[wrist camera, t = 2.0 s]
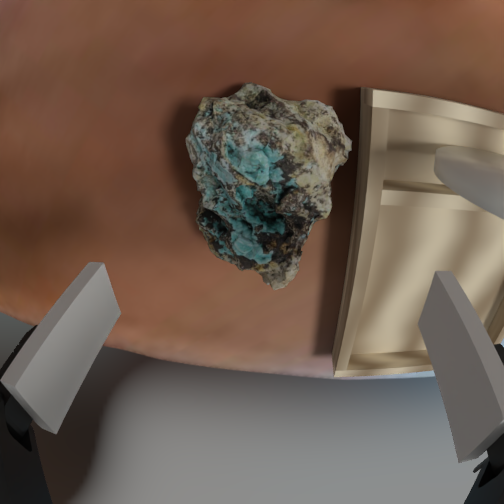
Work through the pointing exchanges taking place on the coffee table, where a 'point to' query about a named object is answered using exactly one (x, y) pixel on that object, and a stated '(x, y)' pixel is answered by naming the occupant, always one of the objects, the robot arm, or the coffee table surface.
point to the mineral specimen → (264, 176)
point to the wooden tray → (414, 232)
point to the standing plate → (473, 175)
